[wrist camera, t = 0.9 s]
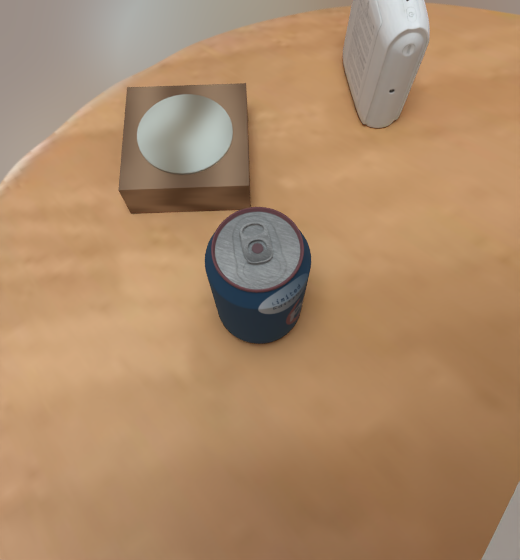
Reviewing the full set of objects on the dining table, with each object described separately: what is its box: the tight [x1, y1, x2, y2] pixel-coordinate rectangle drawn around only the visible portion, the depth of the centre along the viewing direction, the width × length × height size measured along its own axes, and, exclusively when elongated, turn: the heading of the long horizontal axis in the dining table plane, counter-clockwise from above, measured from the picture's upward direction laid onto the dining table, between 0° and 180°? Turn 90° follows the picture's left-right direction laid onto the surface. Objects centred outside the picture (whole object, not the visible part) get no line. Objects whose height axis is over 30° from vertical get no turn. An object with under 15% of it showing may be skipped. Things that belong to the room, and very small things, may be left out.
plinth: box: [119, 83, 250, 213], centre depth 44 cm, size 11×11×4 cm
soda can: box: [205, 207, 311, 344], centre depth 35 cm, size 7×7×12 cm
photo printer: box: [343, 0, 429, 128], centre depth 43 cm, size 10×4×12 cm, turn 10°
